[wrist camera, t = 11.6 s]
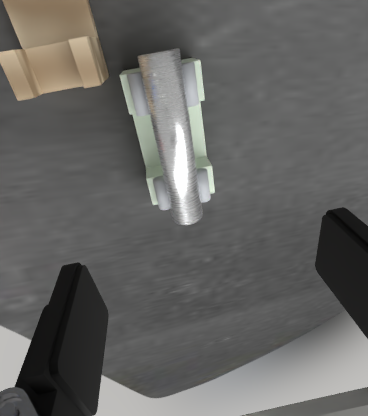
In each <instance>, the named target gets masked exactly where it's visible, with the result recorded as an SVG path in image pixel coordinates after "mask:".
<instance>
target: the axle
mask: <svg viewBox="0 0 368 416" xmlns="http://www.w3.org/2000/svg"><path fill="white" fill-rule="evenodd" d="M137 58H138V62H139V67H140V72H141V76H142V81H143V85H144V90H145V94H146V99H147V104H148V108H149V113H150V117H151V122H152V126H153V131H154V136H155V140H156V145H157V149H158V154H159V159H160V163H161V168H162V172H163V177H164V181H165V186H166V191H167V195H168V200H169V204H170V209H171V213H172V218H173V221H174V222H175V223H177V224H180V225H190V224H193V223H196V222H198V221H199V220H200V219H201V218H202V216H203V211H202V204H201V197H200V190H199V183H198V176H197V169H196V161H195V154H194V147H193V140H192V133H191V126H190V119H189V112H188V105H187V98H186V91H185V84H184V77H183V70H182V63H181V56H180V49H179V48H178V49H170V50H164V51H159V52H153V53H148V54H144V55H140V56H137Z"/></svg>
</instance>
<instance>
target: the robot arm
mask: <svg viewBox="0 0 368 416" xmlns="http://www.w3.org/2000/svg"><path fill="white" fill-rule="evenodd" d="M315 266H316V270H317V272H318V274H319V275H320V276H321V278H322V279H323V280H324V282H325V283H326V284H327V286H328V287H329V288H330V289H331V291H332V292H333V293H334V295H335V296H336V297H337V299H338V300H339V301H340V303H341V304H342V305H343V307H344V308H345V309H346V311H347V312H348V313H349V315H350V316H351V317H352V318H353V320H354V321H355V322H356V324H357V325H358V326H359V328H360V329H361V331H362V332H363V333H364V335H365V336H366V337H367V338H368V226H367V225H366V224H364V223H363V222H362V221H361V220H360V219H358V218H357V217H356V216H355V215H354V214H352V213H351V212H350V211H349V210H347V209H346V208H343V207H342V208H338V209H333V210H329V211H327V212H326V215H324V216H323V218H322V224H321V230H320V237H319V243H318V250H317V256H316V262H315ZM107 325H108V310H107V307H106V305H105V303H104V301H103V299H102V297H101V295H100V293H99V291H98V289H97V287H96V285H95V283H94V281H93V279H92V277H91V275H90V273H89V271H88V269H87V267H86V266H85V265H81V264H80V263H73V264H68V265H64V266H62V268H61V271H60V273H59V276H58V279H57V282H56V285H55V288H54V290H53V293H52V296H51V299H50V302H49V305H47V306H45V307H44V309H43V311H42V314H41V317H40V319H39V322H38V325H37V327H36V330H35V333H34V336H33V338H32V341H31V344H30V347H29V349H28V352H27V355H26V357H25V360H24V363H23V365H22V368H21V371H20V374H19V376H18V379H17V382H16V385H15V387H13V388H8V389H5V390H3V391H1V392H0V416H93V415H95V414H96V412H97V407H98V399H99V390H100V382H101V374H102V366H103V358H104V350H105V341H106V333H107ZM242 416H368V387H367V388H362V389H357V390H353V391H348V392H344V393H339V394H335V395H331V396H326V397H321V398H317V399H312V400H308V401H304V402H300V403H295V404H290V405H286V406H282V407H277V408H273V409H268V410H264V411H260V412H255V413H251V414H246V415H242Z"/></svg>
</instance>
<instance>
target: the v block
mask: <svg viewBox="0 0 368 416" xmlns="http://www.w3.org/2000/svg"><path fill="white" fill-rule="evenodd" d="M181 63H182V70H183V77H184V84H185V91H186V98H187V105H188V112H189V119H190V126H191V133H192V140H193V147H194V154H195V161H196V169H197V176H198V183H199V190H200V197H201V202H207V201H209V200H210V198H211V197H210V193H215V190H214V181H213V172H212V165H211V163H210V161H209V160H208V158H207V155H206V146H205V138H204V129H203V121H202V112H201V104H200V101H204V100H205V98H204V89H203V80H202V71H201V62H200V60H198V59H195V58H188V59H183V60H181ZM119 76H120V79H121V83H122V87H123V91H124V95H125V99H126V103H127V106H128V110H129V114H130V115H131V114H132V115H133V119H134V123H135V127H136V131H137V135H138V139H139V143H140V147H141V150H142V154H143V158H144V162H145V166H146V180H147V184H148V188H149V191H150V195H151V199H152V203H153V205H156V204H158V205H159V208H160V209H161V210H168V209H170V204H169V200H168V195H167V191H166V186H165V181H164V177H163V172H162V168H161V163H160V159H159V154H158V149H157V145H156V140H155V136H154V131H153V126H152V122H151V117H150V113H149V108H148V104H147V99H146V94H145V90H144V85H143V81H142V76H141V72H140V68H135V69H130V70H125V71H122V73H121V74H120V75H119Z"/></svg>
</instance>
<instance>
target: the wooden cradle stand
mask: <svg viewBox="0 0 368 416" xmlns="http://www.w3.org/2000/svg"><path fill="white" fill-rule="evenodd" d="M2 1H3V3H4V5H5V8H6V10H7V13H8V15H9V17H10V20H11V22H12V25H13V27H14V29H15V32H16V34H17V37H18V39H19V42H20V44H21V46H22V49H18V50H10V51H4V52H0V63H1V65H2V67H3V70H4V72H5V74H6V76H7V78H8V80H9V83H10V85H11V87H12V89H13V91H14V93H15V95H16V98H17V100H18V101H20V100H25V99H30V98H35V97H37V96H39V95H41V94H43V93H49V92H54V91H59V90H64V89H70V88H75V87H80V86H84V88H88V87H93V86H99V85H101V84H102V83H103V82H104V81H105V80H106V79H107V78H108V77H109V73H108V70H107V66H106V62H105V59H104V55H103V52H102V48H101V44H100V41H99V37H98V34H97V30H96V26H95V23H94V19H93V16H92V12H91V8H90V5H89V1H88V0H2Z"/></svg>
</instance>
